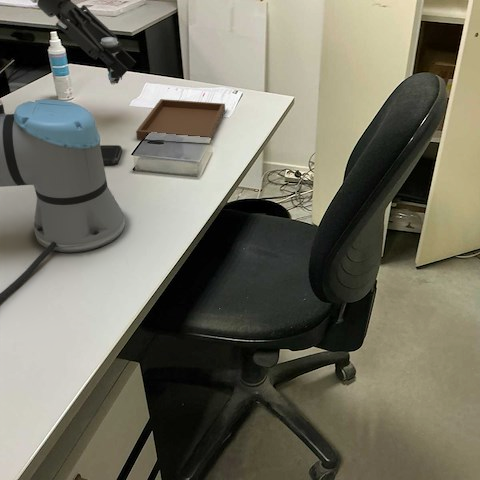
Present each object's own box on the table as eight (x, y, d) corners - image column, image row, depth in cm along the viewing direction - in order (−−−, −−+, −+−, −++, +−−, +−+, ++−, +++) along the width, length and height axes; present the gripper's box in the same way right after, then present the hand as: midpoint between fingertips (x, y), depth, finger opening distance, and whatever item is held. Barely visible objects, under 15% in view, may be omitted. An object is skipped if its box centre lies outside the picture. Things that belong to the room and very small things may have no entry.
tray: (209, 144, 134) (209, 136, 133) (137, 139, 134) (136, 131, 133) (225, 111, 152) (224, 103, 150) (161, 106, 152) (160, 99, 150)
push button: (123, 86, 134) (117, 45, 128) (101, 86, 134) (93, 44, 128) (128, 76, 140) (122, 36, 133) (106, 75, 139) (99, 35, 133)
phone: (116, 160, 122) (44, 160, 120) (117, 165, 122) (45, 165, 120) (122, 145, 128) (54, 144, 126) (123, 149, 129) (55, 149, 127)
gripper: (37, -12, 117) (125, 71, 126) (72, -27, 132) (149, 48, 141) (18, 13, 120) (106, 92, 129) (55, -4, 135) (131, 67, 144)
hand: (128, 69), depth 135 cm, fingers closed on push button, 5 cm apart
